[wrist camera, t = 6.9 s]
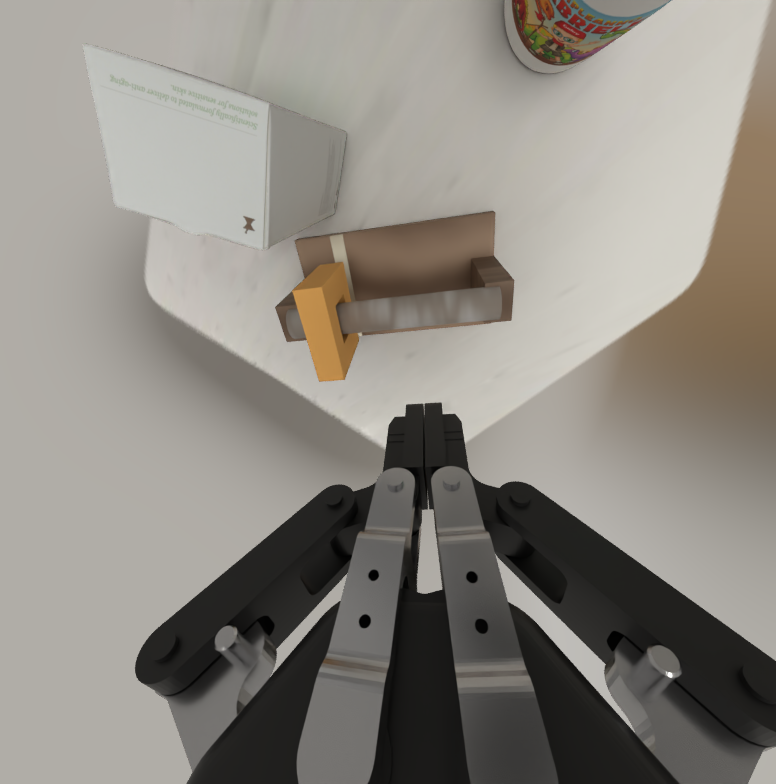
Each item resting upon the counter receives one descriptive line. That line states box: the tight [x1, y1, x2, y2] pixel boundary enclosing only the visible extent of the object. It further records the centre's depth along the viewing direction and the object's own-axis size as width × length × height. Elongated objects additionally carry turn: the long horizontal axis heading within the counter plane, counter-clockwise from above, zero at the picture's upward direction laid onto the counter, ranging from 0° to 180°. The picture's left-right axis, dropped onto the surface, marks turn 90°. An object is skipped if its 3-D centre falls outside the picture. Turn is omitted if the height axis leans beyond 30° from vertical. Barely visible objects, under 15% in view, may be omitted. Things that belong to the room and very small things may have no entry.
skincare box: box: [83, 43, 347, 250], centre depth 22 cm, size 8×7×16 cm
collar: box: [292, 262, 359, 382], centre depth 26 cm, size 7×2×7 cm, turn 8°
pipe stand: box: [275, 211, 514, 342], centre depth 28 cm, size 10×18×10 cm, turn 98°
